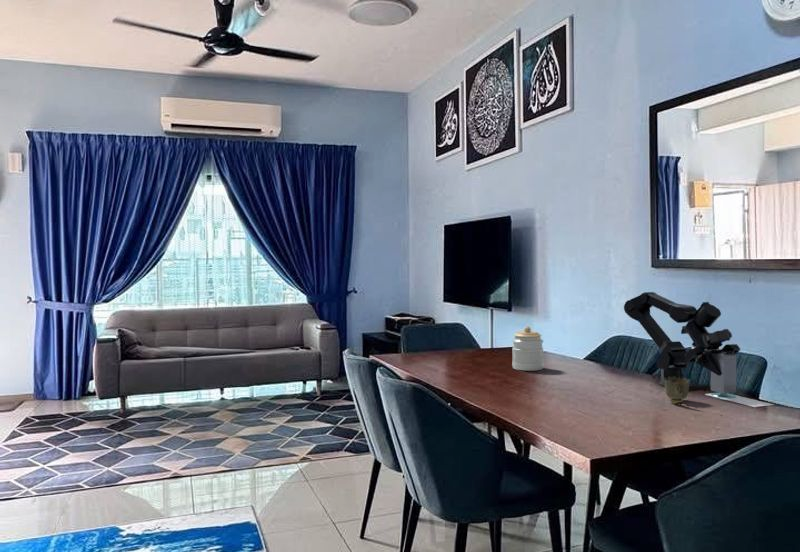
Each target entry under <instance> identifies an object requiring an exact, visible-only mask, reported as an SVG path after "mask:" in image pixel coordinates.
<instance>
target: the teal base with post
mask: <svg viewBox="0 0 800 552" xmlns="http://www.w3.org/2000/svg"><path fill="white" fill-rule="evenodd" d="M710 394H711V393H710ZM711 395H712V396H711V397H713V396H715V397H714V398H717V397H720V398H719V399H721V398H735V397H736V396H737V395H736V394H734V393H724V394H723V393H719V392H712V394H711Z"/></svg>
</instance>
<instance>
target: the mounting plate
mask: <svg viewBox="0 0 800 552" xmlns="http://www.w3.org/2000/svg"><path fill="white" fill-rule="evenodd" d="M712 393H713V392H712ZM712 393H705V394H704V395H705V396H708V397H709V396H710V397H713V398H718V399H721V400H725V401H730V402H732V403H733V402H734V403H738V404H741V405H744V406H748V407H752V408H753V407H754V408H757V407H767V406H775V404H774V403H768V402H765V401H761V400H757V399H753V398H748V397H744V396H739V395H736V397H735V398H720V397H715V396H712V395H711V394H712Z"/></svg>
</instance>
